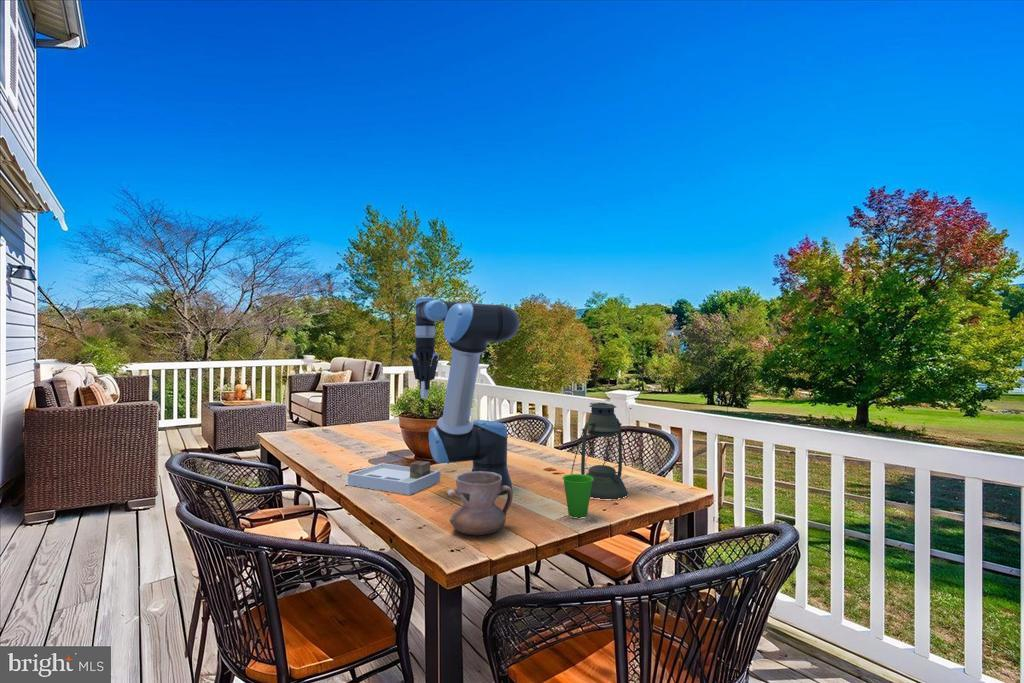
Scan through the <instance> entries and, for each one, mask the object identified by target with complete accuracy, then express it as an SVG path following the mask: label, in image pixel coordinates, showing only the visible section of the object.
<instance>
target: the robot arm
mask: <svg viewBox="0 0 1024 683" xmlns="http://www.w3.org/2000/svg"><path fill="white" fill-rule="evenodd" d="M414 307H415V326H414V328H415V332H414V335H415V339H414V340H415V342H414V344H415V345H414V347H415V349H414V350H415V351H414V353H412V354H410V355H409V359H410V361H411V364H412V369H413V374H414V378H415V380H417V381H419V385H418V386H419V390H420V399H428V398H429V391H430V389H431V381H432V380H435V378H436V373H437V368H438V363H439V360H440V359H441V355H439V354H437V353H436V350H435V346H436V338H435V336H436V322H444V323H443V329H444V330H443V336H444V339H445V340H446V341H447V342H448V347H449V348H450V349H451V350H452V351H451V352H452V353H451V360H450V365H449V372H448V379H447V386H446V393H445V400H444V406H443V413H442V416H441V417H440V418H438V419H437V420H436V427H431V428H430V429H429V430H428V443H429V449H430V454H431V457H432V460H434V462H436V463H437V464H453V463H464V462H472V468H471V471H470V472H475V471H477V472H478V471H483V472H494V473H496V474H500V475H501V476H502V482H501V486H504V485H506V486H509V487H510V488H511V489H513V481H512V479H511V476H510V471H509V469H508V439H509V436H508V427H507V425H506V424H504V423H503V422H502V423H501V422H499V421H494V420H493V421H492V420H485V419H474V420H473V421H471V420H470V417H471V412H472V406H473V399H474V395H475V394H474V393H475V389H476V388H475V387H476V384H477V383H476V382H477V377H478V376H477V375H478V371H479V370H478V369H479V365H480V358H481V355H482V354H483V353H485V352H486V351H487V347H488V343H504V342H506V341H509V340H510V339H512V338H513V337H515V335H516V334H517V333H518V331H519V328H520V319H519V316H518V314H517V312H516V311H515V309H513V308H511V307H508V306H506V305H502V304H489V303H483V304H482V303H478V302H473V301H472V302H470V301H469V302H465V301H446V300H439V299H435V298H434V297H431V296H418V297H417V298H416V299H415V306H414ZM506 494H507V491H502V492H501V493H500V494H498V496H500V495H506Z"/></svg>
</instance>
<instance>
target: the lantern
mask: <svg viewBox="0 0 1024 683" xmlns="http://www.w3.org/2000/svg"><path fill="white" fill-rule="evenodd" d="M588 407H590V409H591V412H590V413H589V415H588V421H587V422H586V423H585V425H584V427H583V428H582V429H581V431H582V432H581V436H580V439H579V442H578V446H577V448H576V451H575V455H574V459H573V463H572V466H571V467H572V468H571V473H570V474H573V471H574V466H575V462H576V458H577V454H578V450H579V448H580V444H581V456H580V458H581V462H580V464H581V465H580V472H581V473H580V474H582V475H588V476H591V477H593V479H594V481H592V488H591V494H590V497H593V498H600V499H618V498H623V497H625V496H627V494H628V495H629V491H628V490H627V488H626V485H625V484H624V481H623V480H622V478H621V477H622V471H623V445H622V444H623V443H622V442H623V440H622V427H621V426H622V423H621V422H620V421H619V419H618V418H617V415H616V414H615V408H617V406H616V405H614V404H613V403H606V402H594V403H593V402H590V403H589V406H588ZM588 435H589V436H593V437H601V438H605V437H607V438H610V437H614V439H613V441H612V443H611V444H609V445H606V446H605V445H604V446H603V447H601V448H599V449H597V450H595V449H594V448H593V447H592V446H590V444H588V442H587V436H588ZM616 438H617V441H616V442H615V440H616ZM581 441H582V442H581ZM616 443H617V444H618V450H617V453H618V456H617V457H618V460H615V459H612V458H610V457H609V455H610V453H611V450H612V449H613V445H615V444H616ZM586 444H587V445H588V447H589V448H590V449H592V450H593V452H592V453H590V454H588V456H587V457H586ZM609 446H610V449H609V450H608V454H607V455H604V454H602V453H600V452H598V451H600V450H602V449H604V448H607V447H609ZM593 453H597V454H600V455H602V456H603V457H605V460H604V462H603V463H602V464H597V465H596V464H595V465H592V466H591V467H589V468H588V467H587V460H588V458H589V457H590V456H591V455H592V454H593ZM608 459H610V460H612V461H613V462H616V463H617V464H618V465H617V466H610V465H605V464H606V462H607V460H608ZM585 468H586V470H587V471H588V472H587V473H585V472H586V471H585ZM615 468H618V469H617V470H616V469H615ZM627 497H628V496H627ZM623 499H624V498H623Z"/></svg>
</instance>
